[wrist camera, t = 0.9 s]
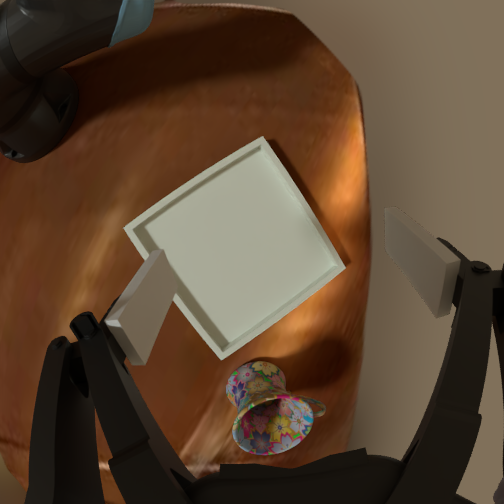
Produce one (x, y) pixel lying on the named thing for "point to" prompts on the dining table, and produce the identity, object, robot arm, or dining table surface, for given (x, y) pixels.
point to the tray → (238, 246)
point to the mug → (268, 410)
